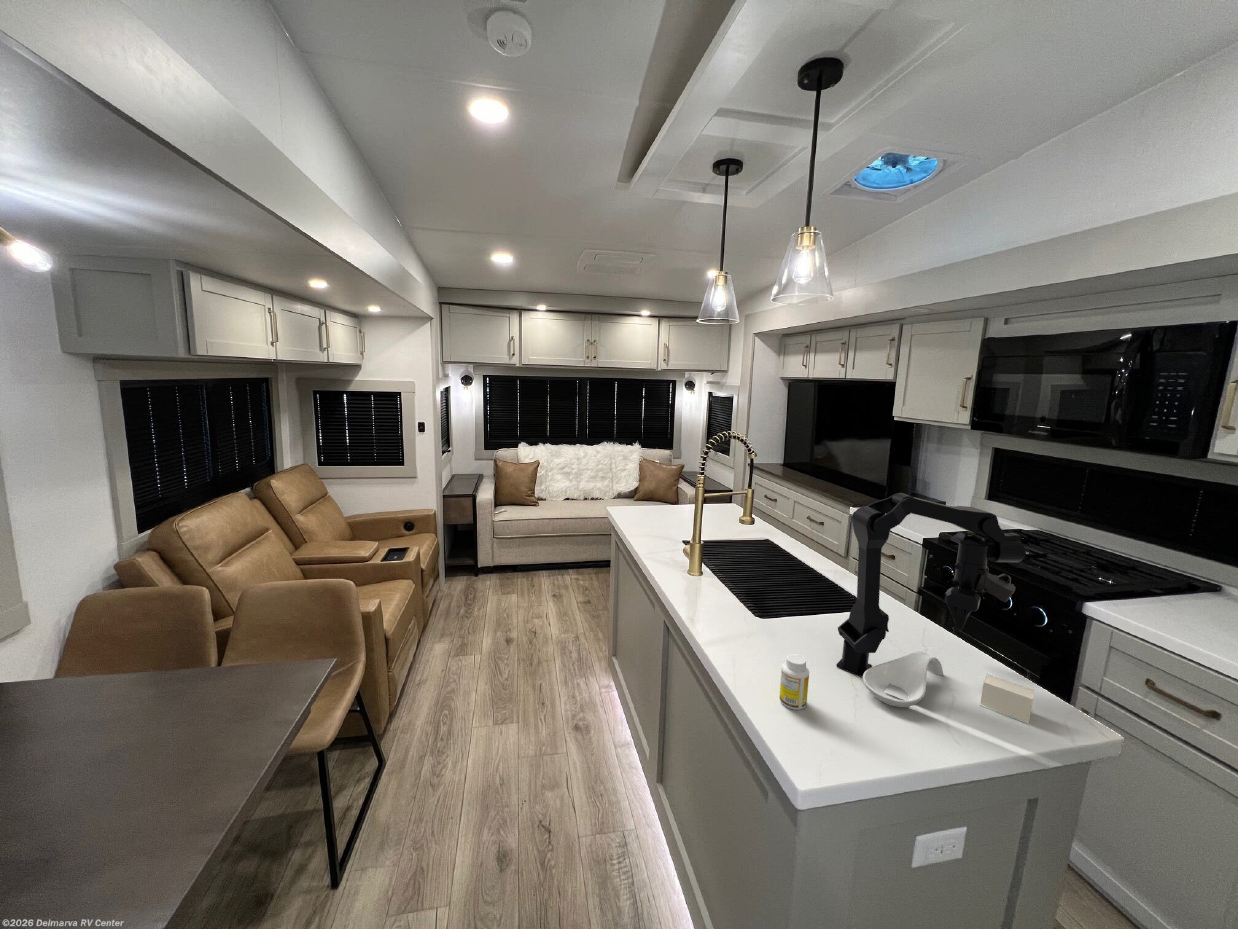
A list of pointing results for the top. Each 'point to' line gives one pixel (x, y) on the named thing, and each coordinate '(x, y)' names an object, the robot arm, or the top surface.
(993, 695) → the block
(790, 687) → the supplement bottle
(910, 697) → the spoon rest
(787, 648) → the top surface
